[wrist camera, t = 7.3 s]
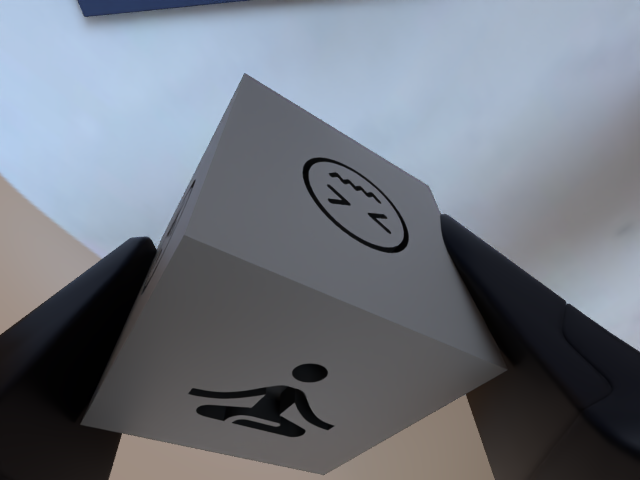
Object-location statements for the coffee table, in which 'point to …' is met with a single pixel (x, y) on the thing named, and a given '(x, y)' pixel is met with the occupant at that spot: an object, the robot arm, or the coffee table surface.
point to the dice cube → (294, 302)
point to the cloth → (138, 5)
